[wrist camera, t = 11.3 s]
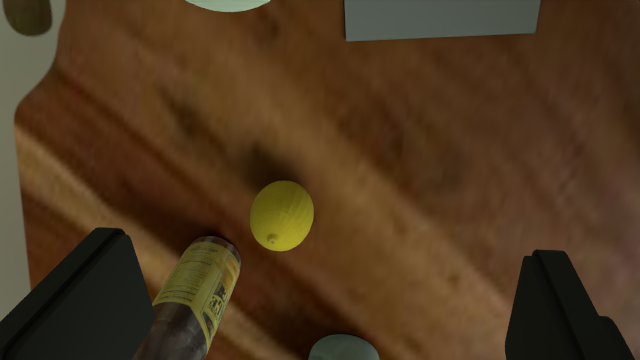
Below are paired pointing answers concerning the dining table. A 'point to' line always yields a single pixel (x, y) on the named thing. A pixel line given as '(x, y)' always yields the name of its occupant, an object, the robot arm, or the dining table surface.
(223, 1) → the lid
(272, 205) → the lemon
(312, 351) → the blue-green cup
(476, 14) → the mat
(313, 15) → the dining table surface
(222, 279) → the sauce bottle
